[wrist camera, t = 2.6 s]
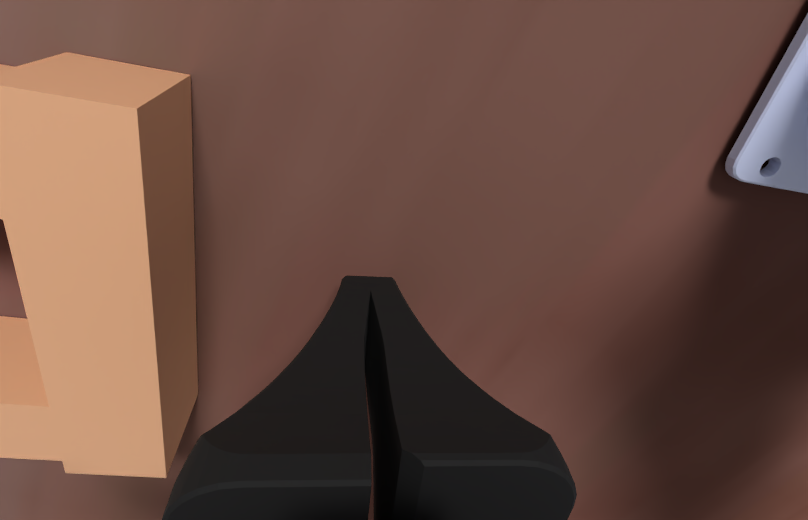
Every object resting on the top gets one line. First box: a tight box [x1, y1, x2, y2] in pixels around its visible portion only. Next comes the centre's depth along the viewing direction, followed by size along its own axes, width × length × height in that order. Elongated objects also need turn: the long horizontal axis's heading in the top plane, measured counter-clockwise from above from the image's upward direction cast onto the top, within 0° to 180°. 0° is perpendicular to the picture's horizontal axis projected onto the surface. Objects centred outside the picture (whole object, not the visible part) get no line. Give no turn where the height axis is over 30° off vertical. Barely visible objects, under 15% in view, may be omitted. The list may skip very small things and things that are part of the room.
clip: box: [0, 52, 198, 478], centre depth 11 cm, size 8×10×3 cm
